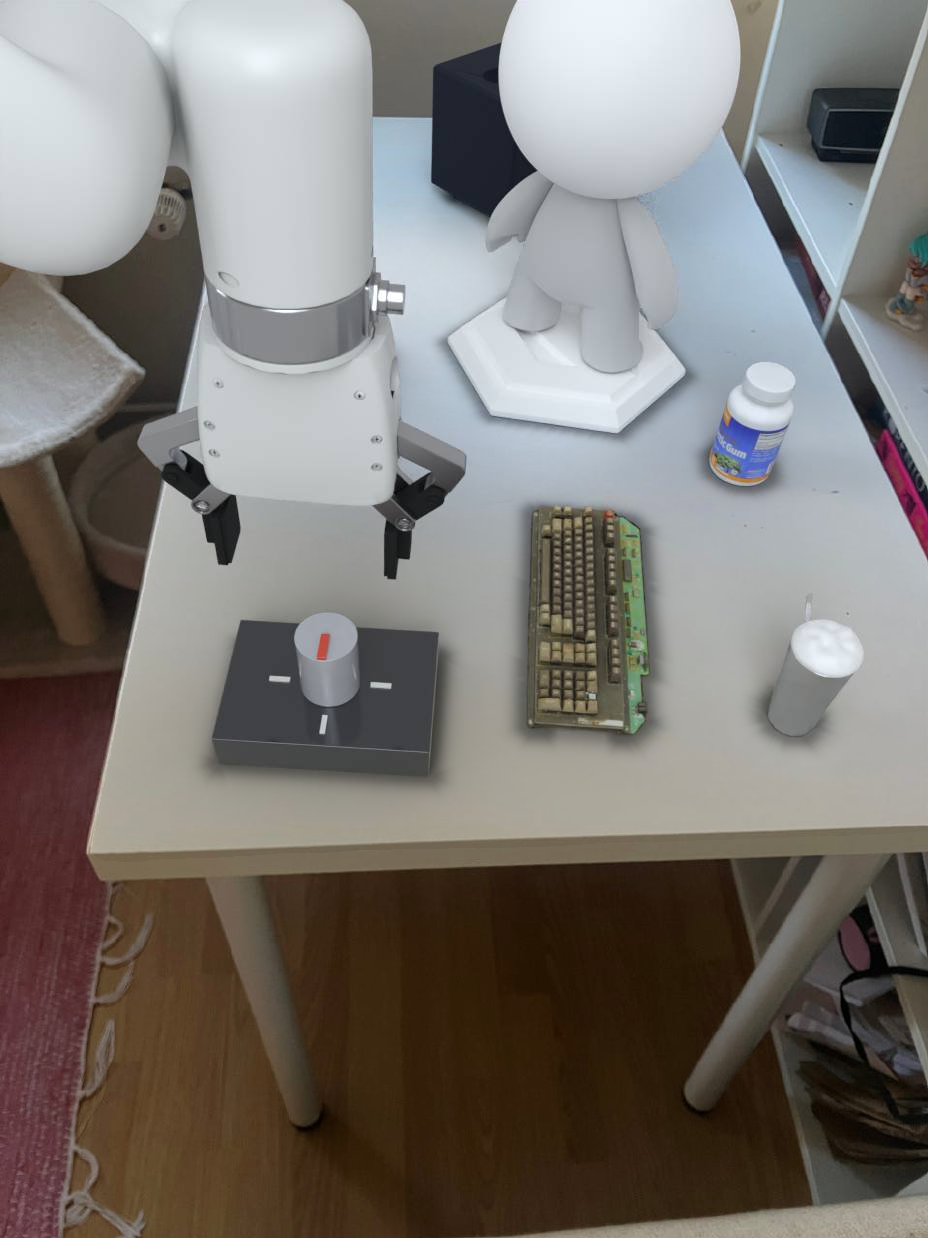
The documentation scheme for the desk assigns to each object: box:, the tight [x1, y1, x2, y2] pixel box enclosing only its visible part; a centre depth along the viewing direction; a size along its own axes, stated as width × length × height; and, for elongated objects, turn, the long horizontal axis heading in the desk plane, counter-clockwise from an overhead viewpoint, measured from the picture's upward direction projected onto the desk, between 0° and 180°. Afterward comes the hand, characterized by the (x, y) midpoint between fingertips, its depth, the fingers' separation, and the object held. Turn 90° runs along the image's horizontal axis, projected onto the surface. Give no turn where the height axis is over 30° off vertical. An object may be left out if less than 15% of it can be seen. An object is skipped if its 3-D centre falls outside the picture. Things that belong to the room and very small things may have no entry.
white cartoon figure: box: [447, 0, 741, 434], centre depth 83 cm, size 20×23×35 cm
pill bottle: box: [708, 361, 797, 487], centre depth 84 cm, size 5×5×10 cm
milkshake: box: [767, 593, 865, 737], centre depth 67 cm, size 5×5×10 cm
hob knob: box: [294, 611, 360, 707], centre depth 65 cm, size 4×4×5 cm
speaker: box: [430, 41, 538, 218], centre depth 112 cm, size 22×13×15 cm, turn 133°
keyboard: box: [525, 504, 651, 735], centre depth 75 cm, size 22×9×2 cm, turn 176°
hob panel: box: [211, 619, 440, 777], centre depth 68 cm, size 14×10×3 cm
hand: (311, 554), depth 59 cm, fingers open, 9 cm apart
